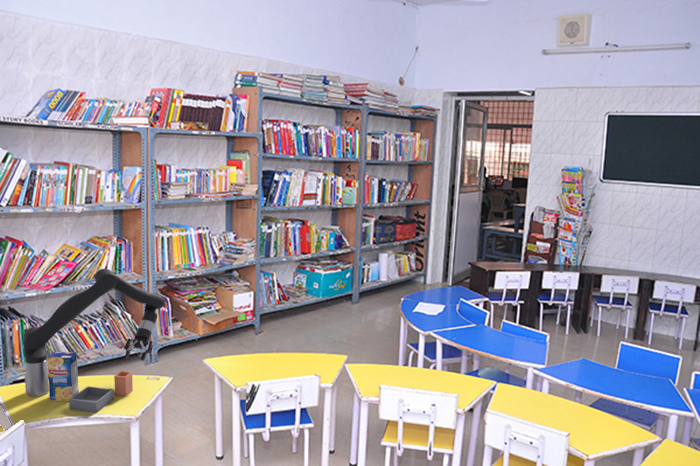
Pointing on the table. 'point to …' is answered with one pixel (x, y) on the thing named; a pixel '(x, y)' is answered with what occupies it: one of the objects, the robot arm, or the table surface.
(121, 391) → the orange square cup
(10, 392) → the table surface
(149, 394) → the table surface
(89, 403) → the charcoal crate
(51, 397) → the blue food box
